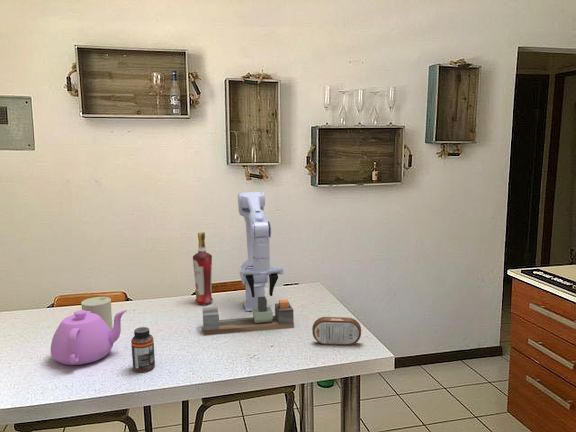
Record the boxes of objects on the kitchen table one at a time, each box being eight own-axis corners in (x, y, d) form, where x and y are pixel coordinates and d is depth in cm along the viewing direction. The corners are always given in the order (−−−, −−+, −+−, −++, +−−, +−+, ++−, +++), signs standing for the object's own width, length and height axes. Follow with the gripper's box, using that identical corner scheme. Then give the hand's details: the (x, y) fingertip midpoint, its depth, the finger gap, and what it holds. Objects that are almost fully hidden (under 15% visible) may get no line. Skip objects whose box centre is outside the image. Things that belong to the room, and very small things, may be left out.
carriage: (252, 317, 170) (252, 296, 169) (269, 316, 171) (269, 295, 170) (255, 324, 164) (254, 301, 163) (272, 322, 165) (272, 300, 164)
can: (119, 331, 164) (117, 297, 162) (98, 342, 155) (95, 305, 154) (98, 327, 168) (96, 294, 166) (77, 337, 159) (74, 301, 158)
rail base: (203, 325, 168) (202, 307, 168) (288, 318, 174) (288, 300, 173) (203, 335, 160) (203, 316, 159) (293, 327, 165) (293, 308, 165)
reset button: (278, 309, 170) (278, 300, 169) (287, 309, 170) (287, 299, 170) (280, 312, 167) (280, 302, 166) (289, 312, 168) (288, 302, 167)
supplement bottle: (135, 363, 139) (133, 325, 138) (156, 362, 140) (154, 324, 138) (130, 373, 133) (128, 333, 132) (152, 372, 134) (150, 332, 132)
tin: (361, 342, 152) (361, 316, 151) (361, 346, 149) (361, 320, 148) (312, 341, 154) (312, 315, 152) (312, 345, 151) (311, 319, 149)
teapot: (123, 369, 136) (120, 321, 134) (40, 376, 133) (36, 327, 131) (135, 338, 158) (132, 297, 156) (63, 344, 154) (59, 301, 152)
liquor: (191, 303, 193) (188, 233, 189) (206, 299, 198) (204, 230, 194) (201, 307, 187) (198, 235, 183) (217, 303, 192) (214, 232, 188)
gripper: (240, 260, 159) (241, 301, 161) (284, 258, 162) (285, 297, 164) (238, 256, 166) (239, 294, 168) (280, 253, 169) (281, 291, 171)
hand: (262, 295), depth 166 cm, fingers open, 5 cm apart
